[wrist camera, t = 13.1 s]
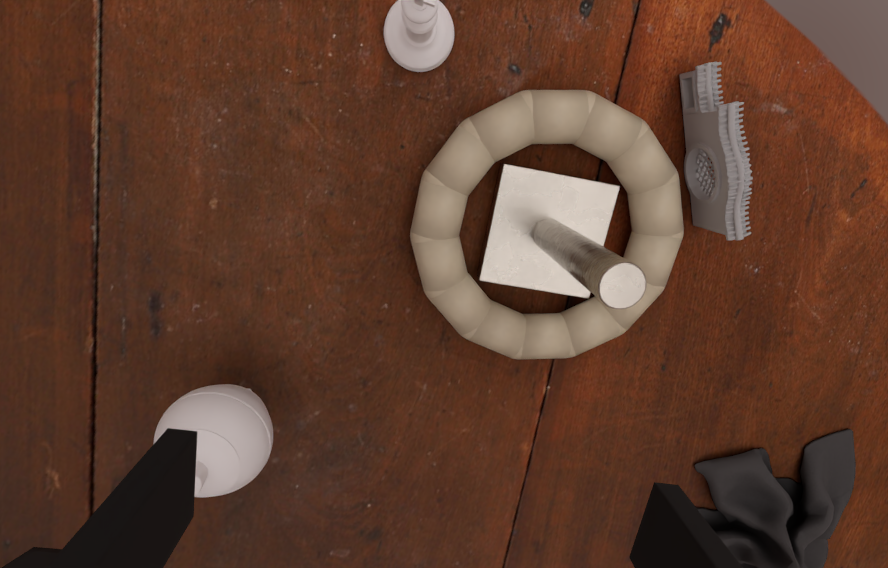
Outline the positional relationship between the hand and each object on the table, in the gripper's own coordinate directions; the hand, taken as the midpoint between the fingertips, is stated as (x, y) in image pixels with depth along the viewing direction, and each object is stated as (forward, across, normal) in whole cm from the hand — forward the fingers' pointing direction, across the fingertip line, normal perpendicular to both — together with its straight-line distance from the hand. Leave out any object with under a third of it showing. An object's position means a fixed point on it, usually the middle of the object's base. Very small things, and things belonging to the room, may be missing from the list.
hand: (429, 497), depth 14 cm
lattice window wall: (+26, -19, -13) cm, 35 cm away
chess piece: (+26, +3, -17) cm, 31 cm away
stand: (+26, -9, -5) cm, 28 cm away
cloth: (+26, -37, +19) cm, 49 cm away
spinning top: (+26, +12, +12) cm, 32 cm away
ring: (+24, -9, -5) cm, 26 cm away
